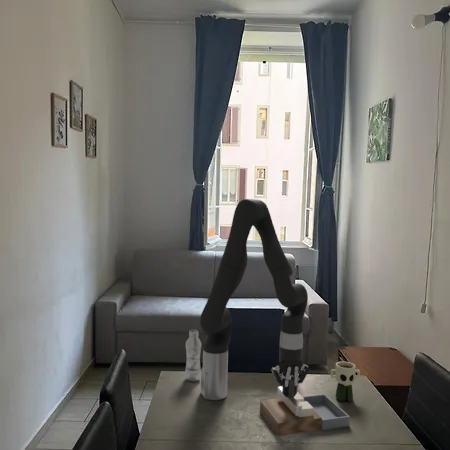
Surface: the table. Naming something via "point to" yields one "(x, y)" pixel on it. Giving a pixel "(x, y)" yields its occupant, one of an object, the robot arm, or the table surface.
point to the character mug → (345, 379)
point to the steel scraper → (290, 398)
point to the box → (328, 412)
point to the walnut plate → (287, 418)
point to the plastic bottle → (193, 356)
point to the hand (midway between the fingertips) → (289, 395)
